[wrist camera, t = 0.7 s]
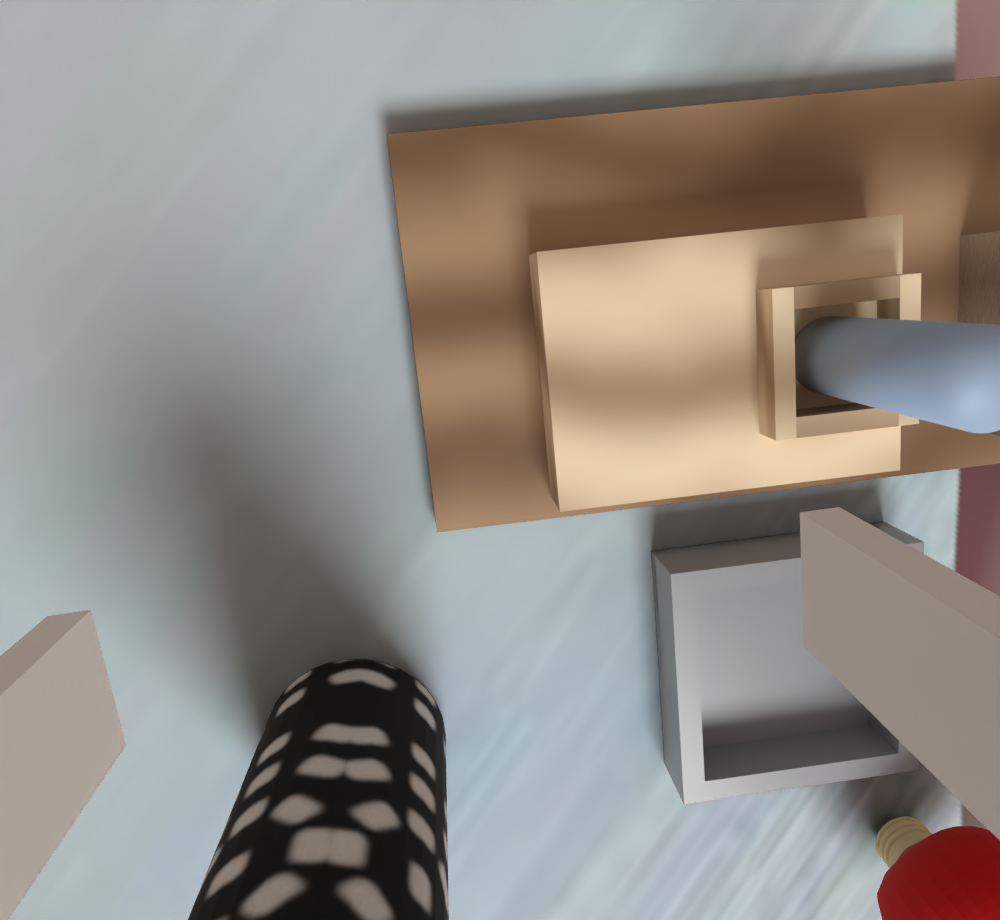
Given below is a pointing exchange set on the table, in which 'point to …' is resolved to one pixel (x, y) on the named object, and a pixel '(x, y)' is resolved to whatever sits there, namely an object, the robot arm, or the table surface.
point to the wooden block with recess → (709, 360)
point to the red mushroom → (938, 872)
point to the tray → (755, 677)
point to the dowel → (906, 367)
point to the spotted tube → (339, 806)
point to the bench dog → (979, 280)
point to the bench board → (660, 215)
